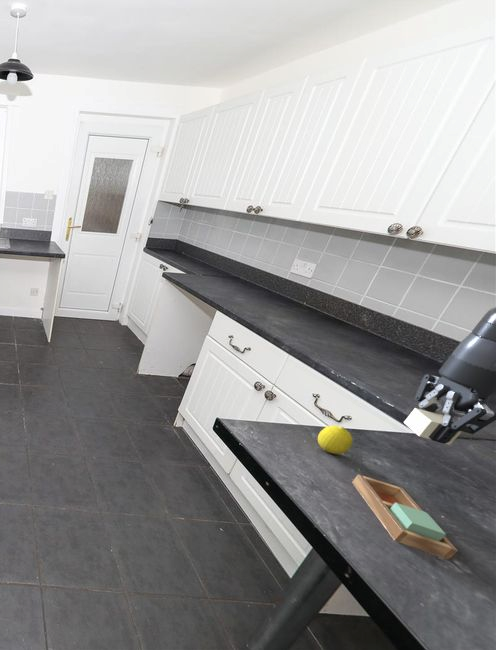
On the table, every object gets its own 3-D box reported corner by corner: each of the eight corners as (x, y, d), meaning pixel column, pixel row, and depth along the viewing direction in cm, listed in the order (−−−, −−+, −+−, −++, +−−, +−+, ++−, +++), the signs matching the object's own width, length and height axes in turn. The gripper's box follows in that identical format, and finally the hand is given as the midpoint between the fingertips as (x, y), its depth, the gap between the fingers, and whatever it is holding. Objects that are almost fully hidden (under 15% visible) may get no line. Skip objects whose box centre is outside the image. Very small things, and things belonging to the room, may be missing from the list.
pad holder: (394, 498, 71) (402, 487, 70) (447, 561, 59) (458, 550, 58) (350, 483, 74) (357, 473, 72) (392, 542, 62) (402, 531, 60)
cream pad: (432, 430, 69) (444, 415, 68) (450, 445, 65) (463, 429, 64) (403, 422, 71) (414, 407, 69) (418, 436, 67) (431, 421, 65)
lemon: (346, 464, 79) (365, 439, 76) (318, 456, 81) (335, 431, 78) (333, 448, 84) (350, 423, 81) (307, 440, 86) (322, 416, 82)
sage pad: (414, 526, 65) (427, 512, 63) (432, 548, 61) (446, 534, 59) (383, 515, 66) (395, 502, 64) (399, 536, 62) (412, 522, 61)
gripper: (557, 389, 54) (483, 465, 60) (479, 351, 66) (425, 418, 73) (491, 374, 56) (427, 449, 63) (428, 340, 68) (380, 406, 75)
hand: (426, 432), depth 68 cm, fingers closed on cream pad, 4 cm apart
